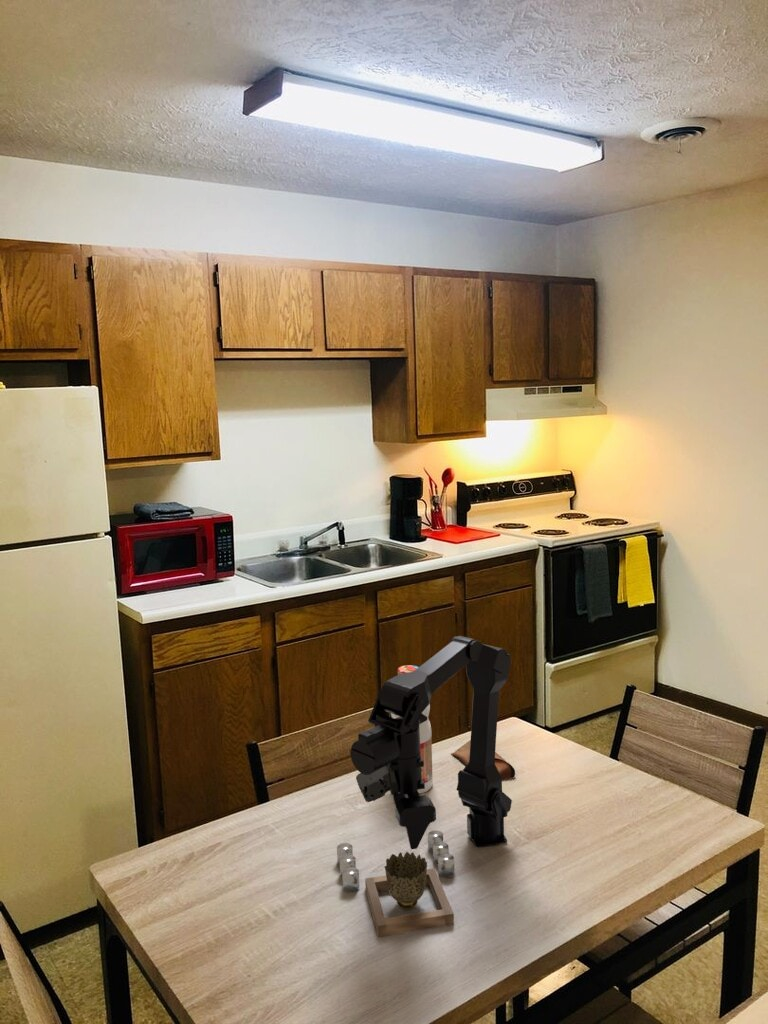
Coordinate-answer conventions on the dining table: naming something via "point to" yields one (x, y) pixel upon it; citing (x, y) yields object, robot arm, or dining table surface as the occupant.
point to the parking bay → (413, 920)
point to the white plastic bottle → (422, 739)
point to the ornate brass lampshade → (406, 879)
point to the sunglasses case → (502, 766)
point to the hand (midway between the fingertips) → (407, 833)
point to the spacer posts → (434, 846)
